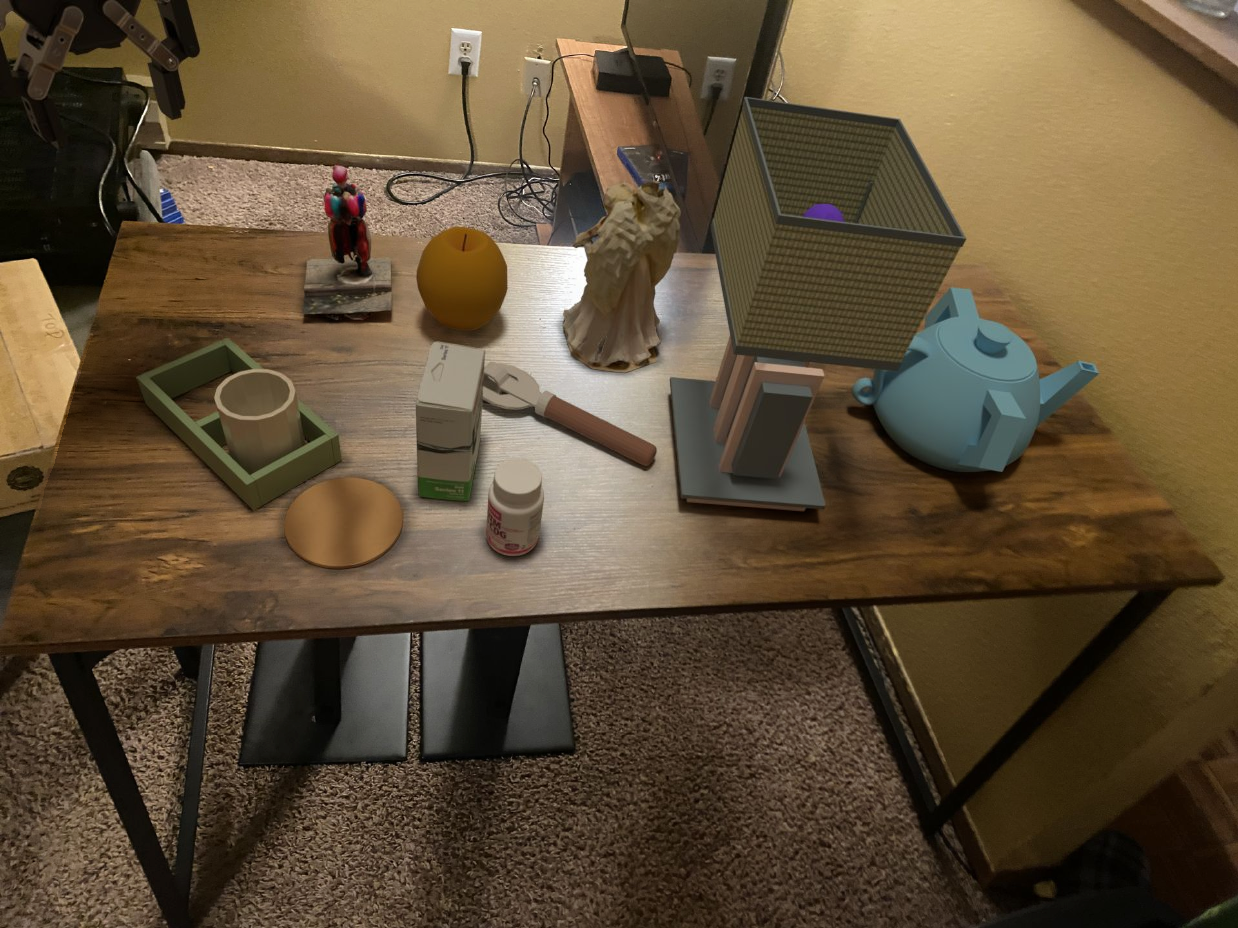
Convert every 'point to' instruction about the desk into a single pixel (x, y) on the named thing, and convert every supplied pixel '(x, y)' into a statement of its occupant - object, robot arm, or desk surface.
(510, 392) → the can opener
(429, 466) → the ink box
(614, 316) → the figurine
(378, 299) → the statue
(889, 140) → the desk lamp
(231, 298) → the desk surface
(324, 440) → the cup holder
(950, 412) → the teapot
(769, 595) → the desk surface
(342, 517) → the coaster
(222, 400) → the cup
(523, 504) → the pill bottle
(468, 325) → the apple
